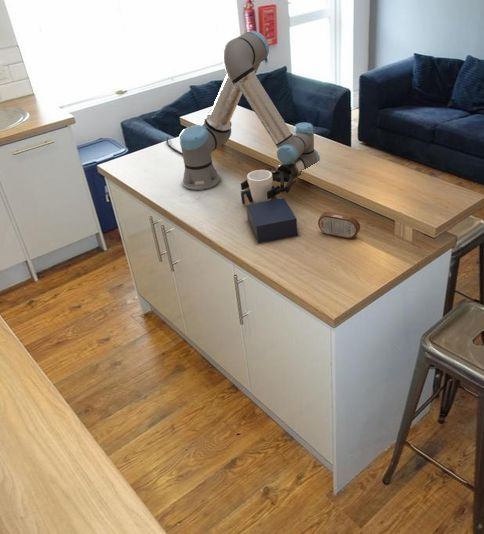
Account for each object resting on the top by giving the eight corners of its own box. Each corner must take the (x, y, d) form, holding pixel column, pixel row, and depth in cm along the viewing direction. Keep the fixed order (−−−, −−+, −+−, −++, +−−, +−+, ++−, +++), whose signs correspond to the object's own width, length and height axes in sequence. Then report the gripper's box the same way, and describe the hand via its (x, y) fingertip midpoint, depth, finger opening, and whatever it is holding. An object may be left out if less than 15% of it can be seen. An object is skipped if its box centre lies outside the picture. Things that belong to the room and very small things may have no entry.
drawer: (238, 196, 227) (237, 184, 224) (270, 190, 230) (269, 178, 226) (250, 221, 210) (249, 209, 207) (285, 215, 212) (284, 202, 209)
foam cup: (271, 212, 212) (268, 181, 205) (247, 211, 214) (244, 180, 207) (276, 200, 220) (274, 170, 212) (254, 199, 222) (250, 169, 214)
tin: (360, 236, 198) (360, 216, 193) (357, 241, 196) (357, 220, 191) (320, 229, 204) (320, 209, 199) (317, 234, 202) (316, 213, 197)
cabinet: (248, 221, 212) (246, 204, 208) (285, 214, 215) (284, 197, 211) (258, 243, 199) (256, 226, 195) (297, 235, 201) (296, 218, 197)
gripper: (315, 186, 219) (280, 208, 206) (267, 171, 232) (232, 191, 219) (314, 168, 215) (279, 190, 202) (266, 154, 228) (229, 174, 215)
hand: (254, 191), depth 210 cm, fingers open, 12 cm apart
